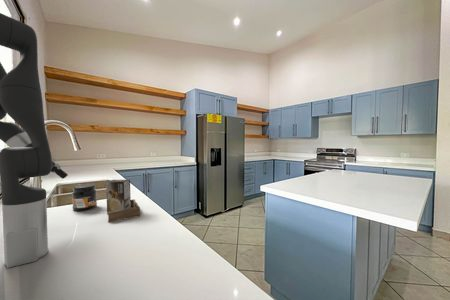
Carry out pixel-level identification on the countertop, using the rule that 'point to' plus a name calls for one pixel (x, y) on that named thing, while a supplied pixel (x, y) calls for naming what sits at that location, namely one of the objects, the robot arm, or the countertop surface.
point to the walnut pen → (125, 213)
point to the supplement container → (84, 197)
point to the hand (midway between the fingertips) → (65, 176)
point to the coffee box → (118, 195)
